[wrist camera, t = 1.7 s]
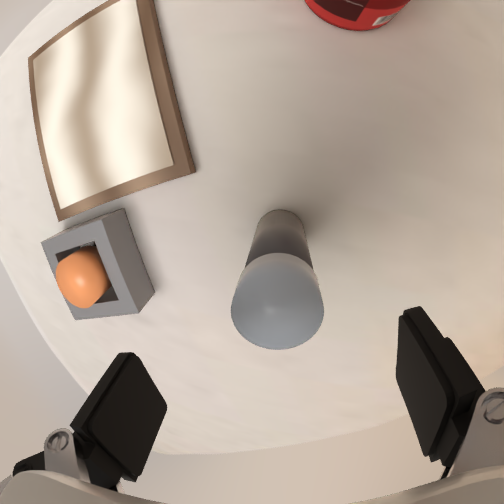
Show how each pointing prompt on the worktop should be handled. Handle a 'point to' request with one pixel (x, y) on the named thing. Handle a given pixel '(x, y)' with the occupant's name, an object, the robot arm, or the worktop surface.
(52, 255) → the button housing
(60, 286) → the button
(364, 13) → the canned food
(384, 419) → the worktop surface
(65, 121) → the board
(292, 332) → the grey tall cylinder
